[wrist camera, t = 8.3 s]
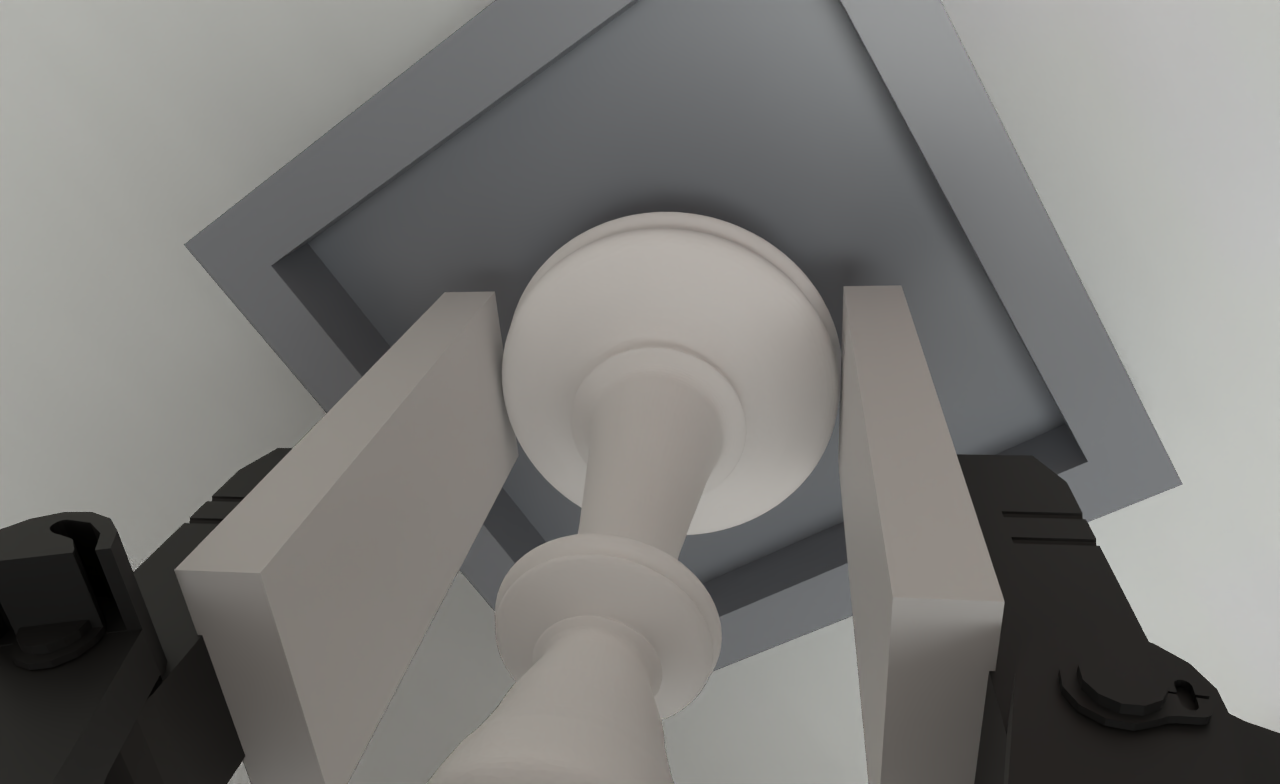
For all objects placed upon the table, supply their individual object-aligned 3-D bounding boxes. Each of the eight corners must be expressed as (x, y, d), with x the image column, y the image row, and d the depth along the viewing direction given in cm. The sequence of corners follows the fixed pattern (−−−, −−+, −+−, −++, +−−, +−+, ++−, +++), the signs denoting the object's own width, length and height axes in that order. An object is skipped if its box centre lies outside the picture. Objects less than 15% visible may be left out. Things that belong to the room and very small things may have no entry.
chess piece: (843, 513, 14) (950, 1504, 5) (535, 516, 15) (170, 1370, 6) (840, 198, 12) (1013, 957, 3) (481, 222, 13) (-210, 874, 4)
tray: (606, 648, 19) (587, 721, 17) (251, 211, 16) (183, 244, 14) (1136, 421, 15) (1182, 483, 13) (810, -222, 12) (814, -250, 10)
